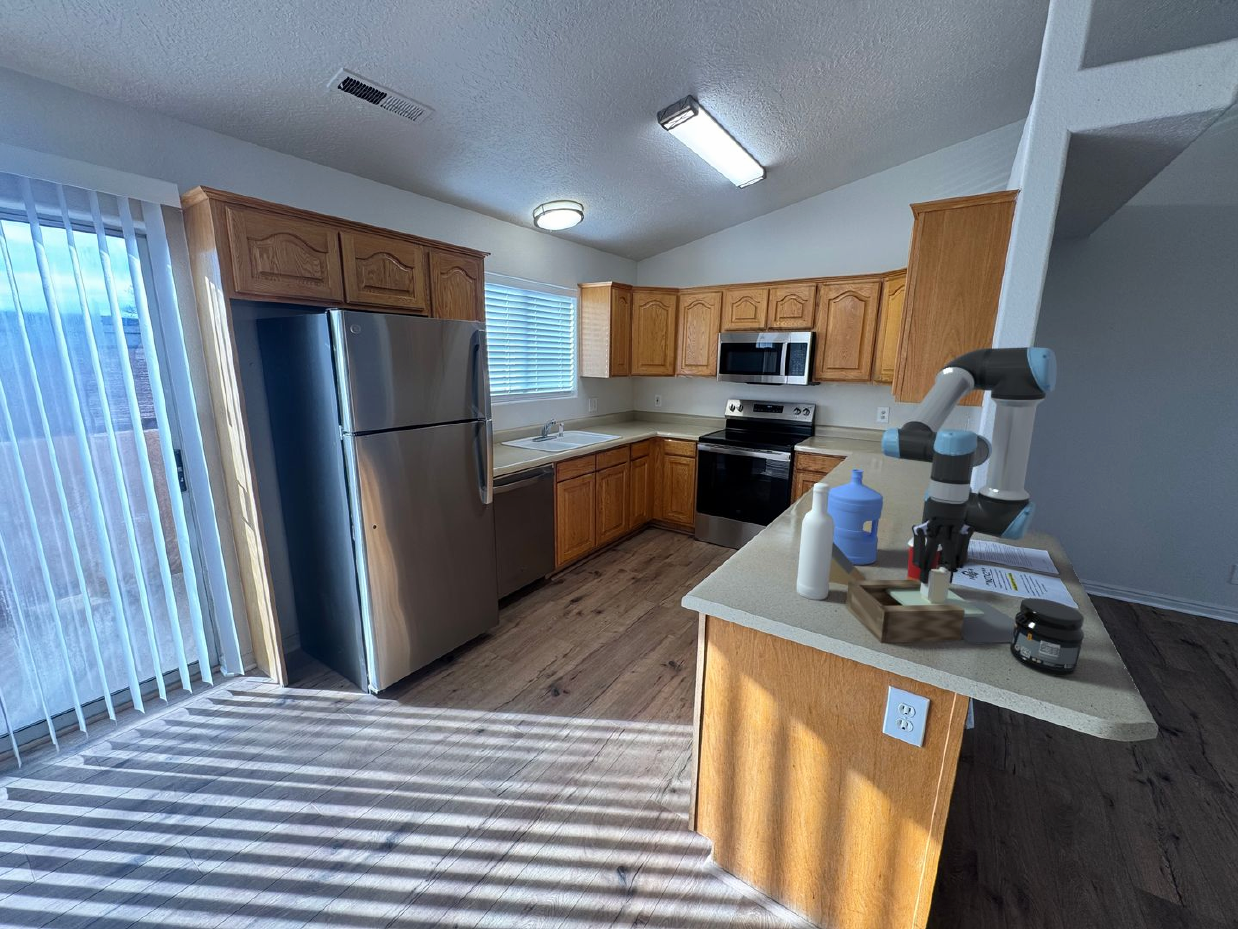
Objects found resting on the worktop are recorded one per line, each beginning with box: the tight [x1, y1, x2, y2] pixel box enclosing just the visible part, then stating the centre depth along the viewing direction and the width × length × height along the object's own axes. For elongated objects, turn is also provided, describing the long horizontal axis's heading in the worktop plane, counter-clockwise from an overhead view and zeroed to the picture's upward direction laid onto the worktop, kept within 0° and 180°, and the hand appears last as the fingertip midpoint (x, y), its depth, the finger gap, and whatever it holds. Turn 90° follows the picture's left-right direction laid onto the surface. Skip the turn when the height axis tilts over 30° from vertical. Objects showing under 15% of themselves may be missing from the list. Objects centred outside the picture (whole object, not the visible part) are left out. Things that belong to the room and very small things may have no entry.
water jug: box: [827, 469, 884, 566], centre depth 152 cm, size 16×16×28 cm
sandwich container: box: [829, 542, 866, 586], centre depth 138 cm, size 9×15×15 cm, turn 60°
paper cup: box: [906, 536, 942, 588], centre depth 131 cm, size 8×8×14 cm
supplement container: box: [1009, 597, 1085, 677], centre depth 99 cm, size 10×10×12 cm
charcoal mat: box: [960, 601, 1015, 645], centre depth 115 cm, size 18×18×1 cm
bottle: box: [796, 482, 834, 601], centre depth 127 cm, size 8×8×30 cm
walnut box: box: [845, 579, 965, 643], centre depth 114 cm, size 18×15×7 cm
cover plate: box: [885, 568, 985, 617], centre depth 113 cm, size 15×13×8 cm
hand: (933, 595), depth 114 cm, fingers closed on cover plate, 3 cm apart
